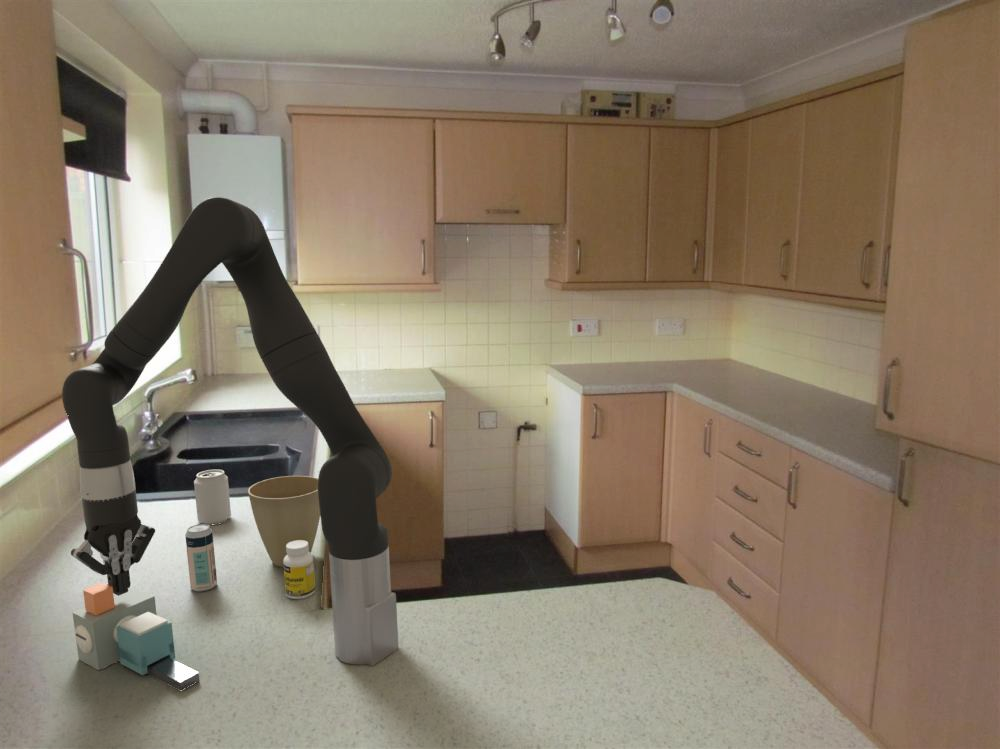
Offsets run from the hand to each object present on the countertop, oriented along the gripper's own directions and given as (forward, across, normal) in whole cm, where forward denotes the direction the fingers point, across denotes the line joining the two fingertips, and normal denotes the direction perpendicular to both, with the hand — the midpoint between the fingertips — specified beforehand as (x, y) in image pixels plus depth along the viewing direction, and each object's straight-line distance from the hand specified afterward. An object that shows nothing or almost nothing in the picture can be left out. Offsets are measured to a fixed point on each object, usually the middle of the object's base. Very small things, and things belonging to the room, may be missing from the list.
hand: (120, 592), depth 117 cm
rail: (+9, -1, -11) cm, 15 cm away
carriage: (+9, -1, -8) cm, 13 cm away
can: (+10, +42, +37) cm, 57 cm away
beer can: (+10, +20, +8) cm, 23 cm away
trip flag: (+1, -3, 0) cm, 4 cm away
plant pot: (+10, +37, +3) cm, 38 cm away
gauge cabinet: (+9, -1, 0) cm, 9 cm away
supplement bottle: (+10, +28, -10) cm, 31 cm away
